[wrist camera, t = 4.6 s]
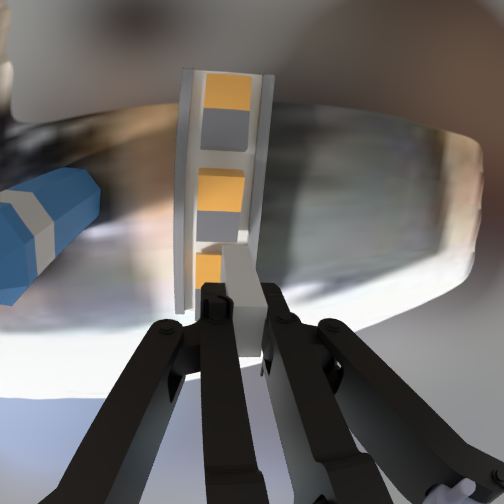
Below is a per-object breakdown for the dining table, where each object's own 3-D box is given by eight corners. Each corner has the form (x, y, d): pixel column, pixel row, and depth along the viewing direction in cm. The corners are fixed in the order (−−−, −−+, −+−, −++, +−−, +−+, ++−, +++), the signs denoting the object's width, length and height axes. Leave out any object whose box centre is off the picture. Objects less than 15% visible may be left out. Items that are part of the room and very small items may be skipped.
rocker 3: (195, 315, 37) (195, 321, 35) (196, 252, 36) (195, 254, 34) (231, 315, 38) (233, 321, 36) (234, 253, 37) (236, 255, 35)
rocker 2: (196, 231, 35) (196, 241, 34) (199, 167, 30) (198, 175, 29) (235, 232, 36) (237, 242, 34) (243, 170, 31) (245, 177, 29)
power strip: (177, 294, 43) (175, 314, 38) (185, 75, 32) (182, 68, 27) (245, 295, 45) (250, 314, 40) (266, 81, 33) (275, 75, 29)
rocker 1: (200, 149, 30) (200, 145, 28) (206, 80, 28) (207, 73, 27) (244, 152, 30) (247, 148, 28) (248, 83, 29) (251, 76, 27)
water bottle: (110, 222, 37) (18, 339, 15) (57, 238, 37) (-44, 346, 14) (91, 156, 34) (-41, 207, 11) (37, 178, 33) (-92, 245, 10)
